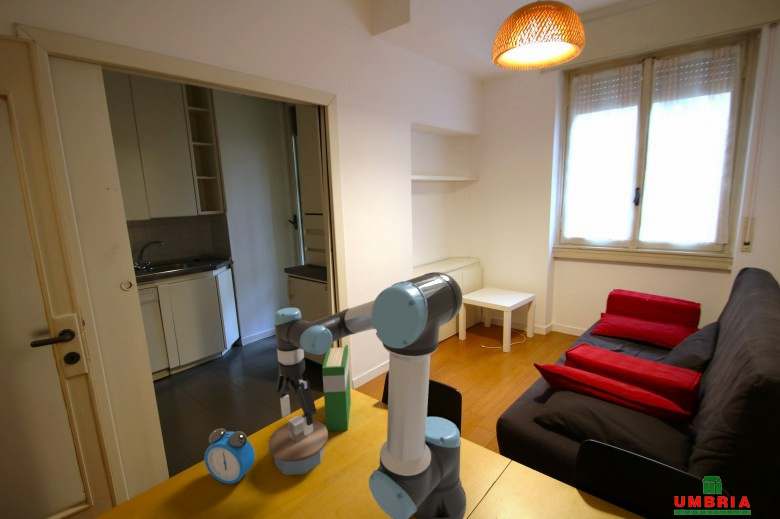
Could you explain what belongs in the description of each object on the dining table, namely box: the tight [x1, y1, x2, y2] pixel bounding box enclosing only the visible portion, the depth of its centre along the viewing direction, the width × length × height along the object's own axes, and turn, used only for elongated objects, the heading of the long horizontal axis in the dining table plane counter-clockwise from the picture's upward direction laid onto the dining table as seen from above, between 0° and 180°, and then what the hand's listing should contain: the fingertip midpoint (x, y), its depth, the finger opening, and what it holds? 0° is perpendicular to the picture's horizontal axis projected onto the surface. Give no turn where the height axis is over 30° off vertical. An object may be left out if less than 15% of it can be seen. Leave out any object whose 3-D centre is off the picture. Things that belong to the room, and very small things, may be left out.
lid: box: [268, 414, 329, 462], centre depth 113 cm, size 18×18×7 cm
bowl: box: [273, 447, 325, 476], centre depth 114 cm, size 14×14×6 cm
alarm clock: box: [203, 427, 256, 486], centre depth 106 cm, size 13×6×15 cm, turn 75°
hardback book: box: [321, 344, 352, 432], centre depth 134 cm, size 18×7×24 cm, turn 2°
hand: (297, 423), depth 113 cm, fingers open, 12 cm apart
